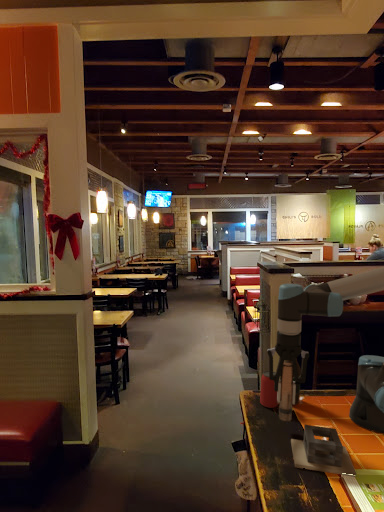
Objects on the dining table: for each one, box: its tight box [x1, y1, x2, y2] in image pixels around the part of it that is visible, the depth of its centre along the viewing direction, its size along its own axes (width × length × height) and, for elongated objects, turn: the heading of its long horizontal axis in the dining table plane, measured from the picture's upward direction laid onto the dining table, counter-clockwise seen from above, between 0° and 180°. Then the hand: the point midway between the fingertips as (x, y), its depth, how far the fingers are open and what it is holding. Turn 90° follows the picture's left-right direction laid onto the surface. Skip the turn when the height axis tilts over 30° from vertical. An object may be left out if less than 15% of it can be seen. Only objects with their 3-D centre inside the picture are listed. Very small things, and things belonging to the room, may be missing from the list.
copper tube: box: [278, 363, 294, 422], centre depth 114 cm, size 4×4×18 cm
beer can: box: [259, 370, 279, 409], centre depth 132 cm, size 7×7×12 cm
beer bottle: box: [279, 357, 301, 406], centre depth 135 cm, size 8×8×24 cm
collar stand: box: [290, 424, 357, 476], centre depth 101 cm, size 16×12×7 cm
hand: (285, 401), depth 114 cm, fingers closed on copper tube, 4 cm apart
